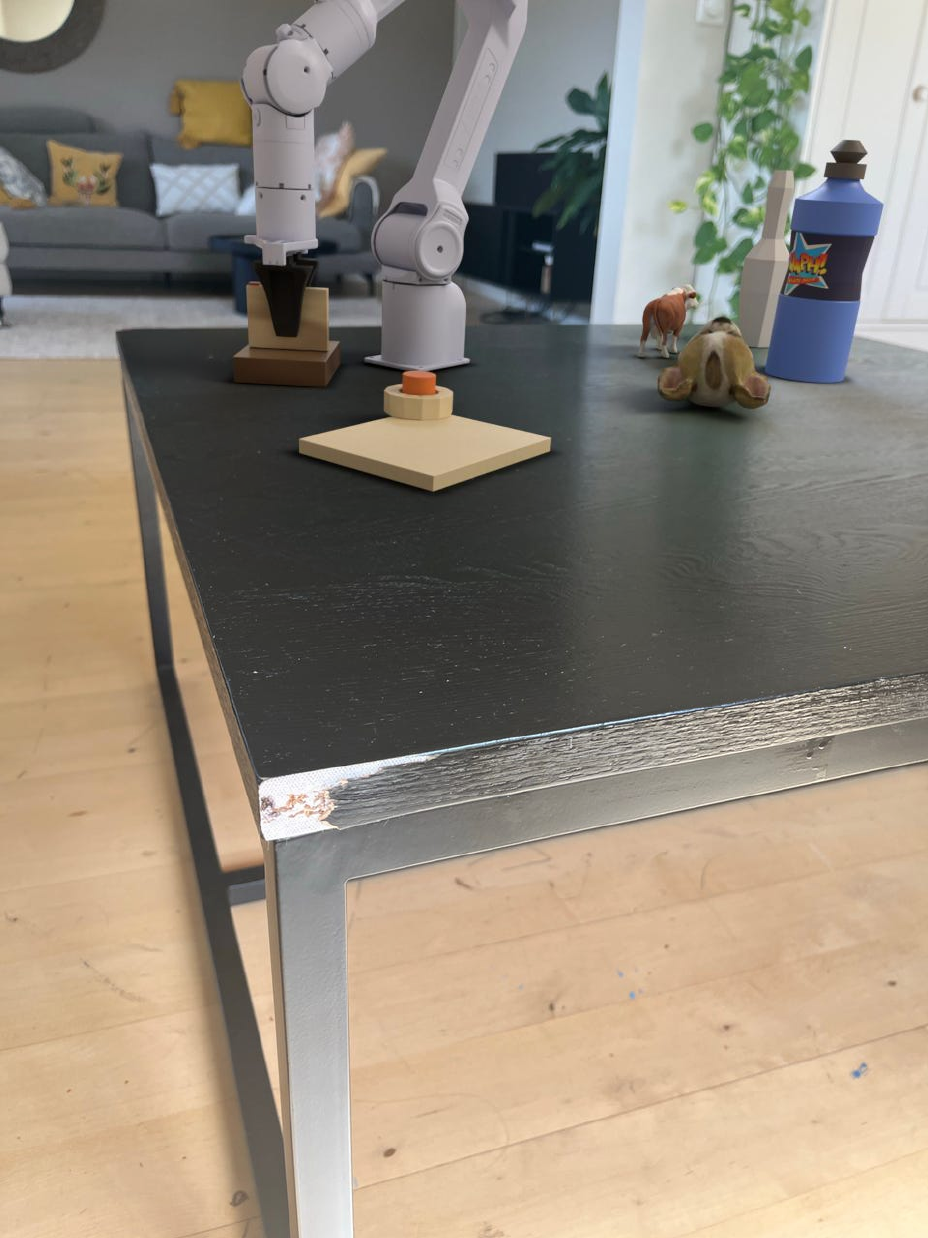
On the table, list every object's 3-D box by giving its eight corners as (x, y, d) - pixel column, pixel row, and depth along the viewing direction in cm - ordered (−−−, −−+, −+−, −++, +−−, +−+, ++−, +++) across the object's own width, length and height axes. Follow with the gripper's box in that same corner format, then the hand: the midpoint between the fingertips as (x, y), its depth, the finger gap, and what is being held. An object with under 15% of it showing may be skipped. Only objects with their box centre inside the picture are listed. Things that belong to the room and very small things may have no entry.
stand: (257, 360, 104) (256, 336, 103) (340, 364, 104) (340, 341, 103) (233, 382, 93) (232, 356, 92) (325, 387, 94) (325, 361, 93)
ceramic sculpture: (776, 307, 97) (784, 338, 84) (761, 391, 101) (766, 433, 89) (670, 300, 99) (662, 328, 86) (660, 383, 103) (650, 422, 91)
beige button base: (413, 414, 85) (414, 380, 84) (559, 449, 77) (562, 412, 76) (277, 447, 73) (276, 409, 72) (432, 492, 65) (434, 449, 64)
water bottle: (809, 385, 108) (860, 137, 97) (746, 369, 115) (788, 137, 104) (861, 379, 112) (915, 143, 102) (798, 365, 119) (842, 142, 109)
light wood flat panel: (329, 348, 99) (328, 285, 96) (327, 351, 97) (326, 286, 95) (251, 344, 98) (248, 281, 96) (248, 347, 97) (246, 282, 94)
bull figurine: (697, 349, 126) (707, 284, 123) (659, 362, 116) (668, 292, 112) (666, 344, 128) (675, 281, 125) (626, 357, 118) (634, 288, 114)
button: (416, 389, 82) (417, 369, 82) (441, 395, 81) (442, 374, 80) (395, 394, 80) (395, 373, 80) (420, 400, 79) (421, 378, 78)
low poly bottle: (782, 349, 130) (816, 171, 120) (736, 347, 130) (766, 168, 120) (769, 341, 136) (801, 171, 126) (725, 339, 136) (753, 168, 126)
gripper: (258, 184, 98) (263, 321, 104) (226, 187, 85) (234, 343, 91) (326, 188, 98) (328, 325, 104) (305, 191, 85) (308, 347, 91)
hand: (288, 334), depth 97 cm, fingers closed
